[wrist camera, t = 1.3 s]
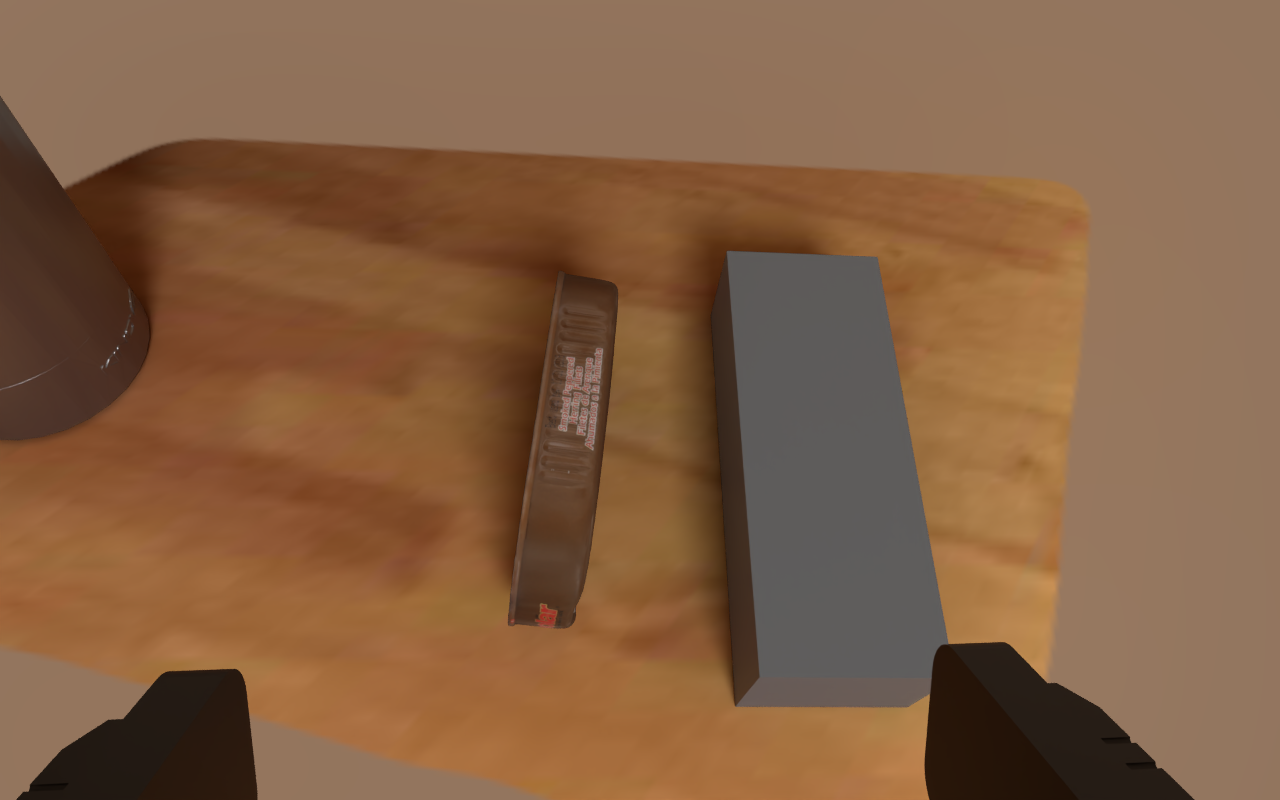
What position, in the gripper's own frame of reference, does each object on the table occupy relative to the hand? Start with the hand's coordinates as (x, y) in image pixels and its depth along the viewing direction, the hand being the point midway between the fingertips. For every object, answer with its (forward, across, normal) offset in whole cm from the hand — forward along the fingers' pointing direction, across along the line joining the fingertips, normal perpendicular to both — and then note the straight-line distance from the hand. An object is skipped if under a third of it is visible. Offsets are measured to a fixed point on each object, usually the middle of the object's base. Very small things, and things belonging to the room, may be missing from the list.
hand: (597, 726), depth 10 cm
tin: (+29, +1, +7) cm, 30 cm away
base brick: (+29, -10, +7) cm, 31 cm away
